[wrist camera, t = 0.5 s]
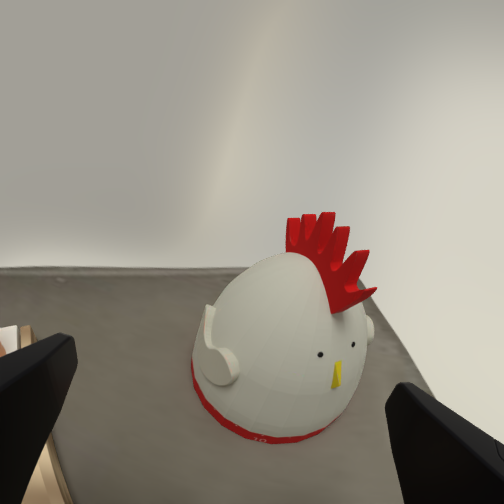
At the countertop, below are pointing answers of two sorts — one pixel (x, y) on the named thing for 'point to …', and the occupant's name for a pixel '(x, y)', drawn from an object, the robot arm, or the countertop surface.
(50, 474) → the wooden tray
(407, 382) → the robot arm
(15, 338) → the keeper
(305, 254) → the kitchen timer
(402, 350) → the countertop surface
